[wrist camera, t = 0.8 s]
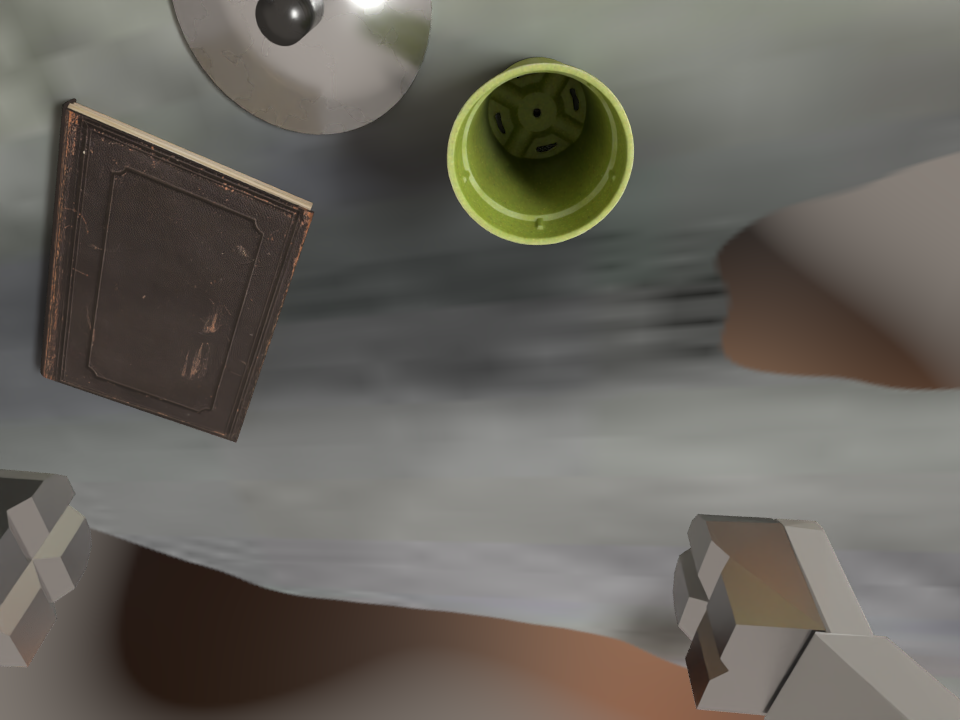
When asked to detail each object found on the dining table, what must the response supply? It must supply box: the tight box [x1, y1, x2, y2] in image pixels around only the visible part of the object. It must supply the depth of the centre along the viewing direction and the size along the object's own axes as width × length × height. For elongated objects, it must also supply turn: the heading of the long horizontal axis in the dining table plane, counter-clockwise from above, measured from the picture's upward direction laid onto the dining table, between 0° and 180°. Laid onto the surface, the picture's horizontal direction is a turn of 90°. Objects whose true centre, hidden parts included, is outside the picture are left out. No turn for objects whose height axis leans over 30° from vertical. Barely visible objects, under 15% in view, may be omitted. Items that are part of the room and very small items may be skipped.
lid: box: [172, 0, 432, 134], centre depth 37 cm, size 15×15×5 cm
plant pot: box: [447, 57, 634, 245], centre depth 39 cm, size 9×9×9 cm
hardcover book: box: [41, 99, 314, 442], centre depth 51 cm, size 16×23×2 cm
